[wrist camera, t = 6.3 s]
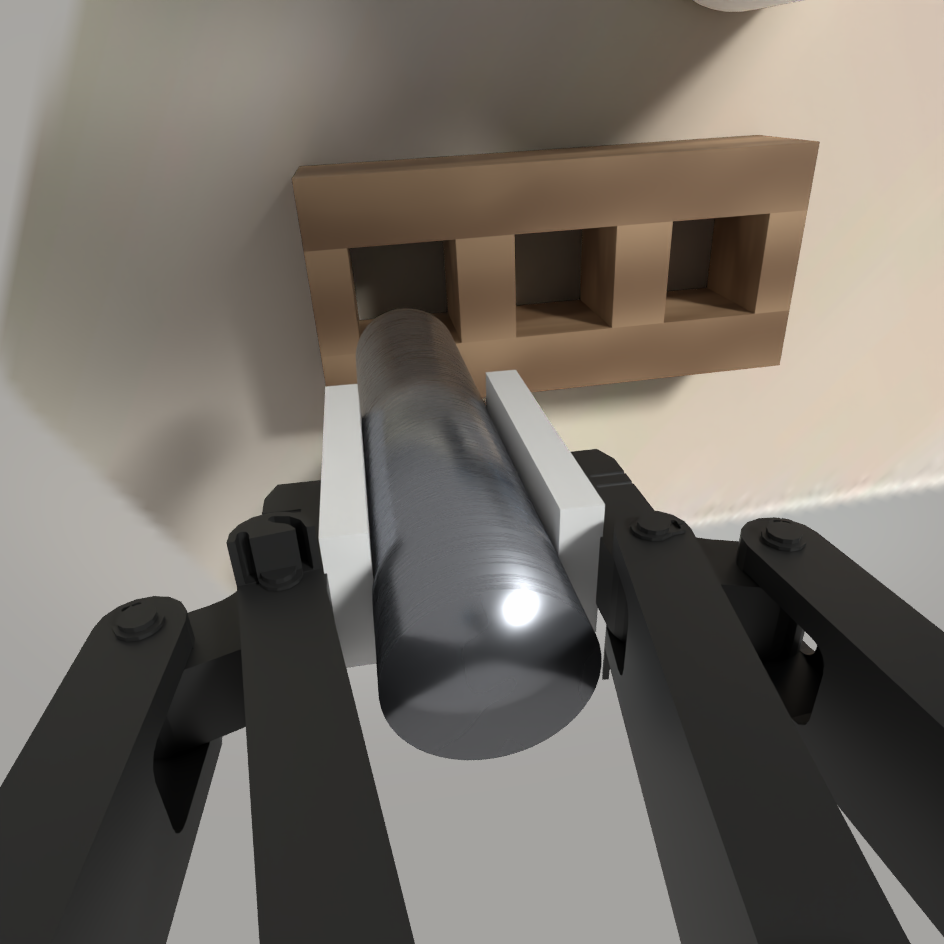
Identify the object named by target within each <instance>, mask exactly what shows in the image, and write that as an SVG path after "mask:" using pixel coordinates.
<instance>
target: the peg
mask: <svg viewBox="0 0 944 944" xmlns="http://www.w3.org/2000/svg"><path fill="white" fill-rule="evenodd" d="M356 372H357V385H358V393H359V402H360V410H361V419H362V433H363V446H364V460H365V473H366V487H367V500H368V513H369V527H370V540H371V554H372V567H373V588H372V605H373V619H374V634H375V648H376V663H377V677H378V692H379V701H380V705H381V709H382V712H383V714H384V717H385V719H386V720H387V722H388V723H389V725H390V727H391V728H392V729H393V730H394V731H395V732H396V733H397V735H398V736H400V737H401V738H402V739H403V740H405V741H406V742H407V743H409V744H410V745H412V746H414V747H415V748H417V749H419V750H422V751H424V752H426V753H429V754H433V755H436V756H439V757H444V758H449V759H458V760H482V759H490V758H497V757H502V756H507V755H510V754H514V753H517V752H520V751H523V750H525V749H528V748H530V747H533V746H535V745H537V744H539V743H541V742H543V741H545V740H546V739H548V738H550V737H551V736H553V735H554V734H556V733H557V732H559V731H560V730H561V729H562V728H564V727H565V726H567V725H568V724H569V723H570V722H571V721H572V720H573V719H574V718H575V717H576V716H577V715H578V714H579V713H580V711H581V710H582V709H583V708H584V706H585V705H586V703H587V702H588V701H589V699H590V698H591V696H592V694H593V692H594V690H595V688H596V685H597V682H598V679H599V676H600V670H601V650H600V644H599V642H598V639H597V637H596V634H595V632H594V629H593V627H592V625H591V623H590V621H589V619H588V617H587V615H586V613H585V611H584V609H583V607H582V605H581V603H580V600H579V598H578V596H577V594H576V592H575V590H574V588H573V586H572V584H571V582H570V580H569V578H568V576H567V573H566V571H565V569H564V567H563V565H562V563H561V561H560V559H559V557H558V555H557V553H556V551H555V549H554V547H553V544H552V542H551V540H550V538H549V536H548V534H547V532H546V530H545V528H544V526H543V524H542V522H541V520H540V517H539V515H538V513H537V511H536V509H535V507H534V505H533V503H532V501H531V499H530V497H529V495H528V493H527V491H526V488H525V486H524V484H523V482H522V480H521V478H520V476H519V474H518V472H517V470H516V468H515V466H514V464H513V461H512V459H511V457H510V455H509V453H508V451H507V449H506V447H505V445H504V443H503V441H502V439H501V437H500V434H499V432H498V430H497V428H496V426H495V424H494V422H493V420H492V418H491V416H490V414H489V412H488V410H487V408H486V405H485V403H484V401H483V399H482V397H481V395H480V393H479V391H478V389H477V387H476V385H475V383H474V381H473V378H472V376H471V374H470V372H469V370H468V368H467V366H466V364H465V362H464V360H463V358H462V356H461V354H460V352H459V349H458V347H457V345H456V343H455V341H454V339H453V337H452V335H451V333H450V332H449V330H448V329H447V327H446V326H445V325H444V324H443V323H442V322H441V321H440V320H439V319H438V318H436V317H435V316H433V315H432V314H430V313H427V312H425V311H422V310H418V309H413V308H401V309H395V310H391V311H388V312H386V313H383V314H382V315H380V316H378V317H377V318H375V319H374V320H373V321H372V322H371V323H370V324H369V325H368V326H367V327H366V328H365V330H364V331H363V333H362V334H361V336H360V339H359V341H358V344H357V348H356Z"/></svg>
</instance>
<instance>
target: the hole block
mask: <svg viewBox="0 0 944 944" xmlns="http://www.w3.org/2000/svg"><path fill="white" fill-rule="evenodd" d="M819 143H820V142H818V141H808V140H799V139H790V138H781V137H772V136H763V135H752V136H737V137H723V138H708V139H693V140H679V141H664V142H650V143H635V144H620V145H606V146H591V147H577V148H562V149H547V150H533V151H518V152H504V153H489V154H474V155H460V156H445V157H431V158H416V159H401V160H387V161H372V162H358V163H343V164H328V165H314V166H299V168H298V169H297V171H296V173H295V174H294V176H293V178H292V183H293V190H294V196H295V202H296V208H297V214H298V220H299V226H300V232H301V238H302V244H303V250H304V256H305V262H306V268H307V275H308V281H309V287H310V293H311V299H312V305H313V311H314V317H315V323H316V329H317V335H318V341H319V347H320V353H321V359H322V366H323V372H324V378H325V384H326V387H327V386H338V385H349V384H357V372H356V348H357V344H358V341H359V339H360V336H361V334H362V333H363V331H364V330H365V328H366V327H367V326H368V325H369V324H370V323H371V322H372V321H373V320H374V319H369V320H359V315H358V307H357V299H356V292H355V284H354V277H353V269H352V262H351V254H350V248H357V247H369V246H381V245H393V244H405V243H417V242H430V241H442V240H443V251H444V266H445V281H446V295H447V310H448V312H443V313H433V314H432V315H433V316H435V317H436V318H438V319H439V320H440V321H441V322H442V323H443V324H444V325H445V326H446V327H447V329H448V330H449V332H450V333H451V335H452V337H453V339H454V341H455V343H456V345H457V347H458V349H459V352H460V354H461V356H462V358H463V360H464V362H465V364H466V366H467V368H468V370H469V372H470V374H471V376H472V378H473V381H474V383H475V385H476V387H477V389H478V391H479V393H480V395H481V397H482V398H484V397H486V372H495V371H506V370H516V371H517V372H518V374H519V375H520V377H521V378H522V380H523V381H524V383H525V384H526V386H527V387H528V389H529V390H530V392H538V391H547V390H557V389H566V388H575V387H584V386H593V385H602V384H611V383H621V382H630V381H639V380H648V379H657V378H666V377H675V376H684V375H694V374H703V373H712V372H721V371H730V370H739V369H748V368H757V367H767V366H776V365H780V359H781V353H782V348H783V342H784V337H785V331H786V326H787V320H788V315H789V309H790V304H791V298H792V292H793V287H794V281H795V276H796V270H797V265H798V259H799V254H800V248H801V243H802V237H803V231H804V226H805V220H806V215H807V209H808V204H809V198H810V193H811V187H812V182H813V176H814V170H815V165H816V159H817V154H818V148H819ZM708 218H715V222H714V231H713V239H712V247H711V256H710V264H709V273H708V281H707V288H697V289H686V290H676V291H667V281H668V270H669V259H670V248H671V237H672V226H673V221H684V220H696V219H708ZM575 229H582V249H581V284H580V300H570V301H560V302H549V303H538V304H528V305H517V306H516V291H515V235H514V234H526V233H539V232H551V231H563V230H575Z"/></svg>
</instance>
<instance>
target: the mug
mask: <svg viewBox="0 0 944 944" xmlns="http://www.w3.org/2000/svg"><path fill="white" fill-rule="evenodd" d="M693 1H695V2H696V3H698V4H700V5H702V6H705V7H708V8H710V9H714V10H719V11H725V12H743V11H750V10H756V9H762V8H767V7H772V6H777V5H782V4H787V3H792V2H798V1H803V0H693Z"/></svg>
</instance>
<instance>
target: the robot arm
mask: <svg viewBox="0 0 944 944" xmlns="http://www.w3.org/2000/svg"><path fill="white" fill-rule="evenodd" d="M486 408H487V410H488V412H489V414H490V416H491V418H492V420H493V422H494V424H495V426H496V428H497V430H498V432H499V434H500V437H501V439H502V441H503V443H504V445H505V447H506V449H507V451H508V453H509V455H510V457H511V459H512V461H513V464H514V466H515V468H516V470H517V472H518V474H519V476H520V478H521V480H522V482H523V484H524V486H525V488H526V491H527V493H528V495H529V497H530V499H531V501H532V503H533V505H534V507H535V509H536V511H537V513H538V515H539V517H540V520H541V522H542V524H543V526H544V528H545V530H546V532H547V534H548V536H549V538H550V540H551V542H552V544H553V547H554V549H555V551H556V553H557V555H558V557H559V559H560V561H561V563H562V565H563V567H564V569H565V571H566V573H567V576H568V578H569V580H570V582H571V584H572V586H573V588H574V590H575V592H576V594H577V596H578V598H579V600H580V603H581V605H582V607H583V609H584V611H585V613H586V615H587V617H588V619H589V621H590V623H591V625H592V627H593V629H594V632H596V622H597V609H598V608H599V610H600V613H601V614H602V616H603V618H604V620H605V622H606V636H605V648H604V660H603V675H602V676H603V677H602V678H603V679H609V670H610V669H611V673H612V676H613V680H614V684H615V688H616V692H617V696H618V700H619V704H620V708H621V711H622V716H623V719H624V723H625V727H626V731H627V735H628V738H629V743H630V747H631V751H632V754H633V758H634V762H635V766H636V770H637V773H638V778H639V782H640V785H641V789H642V793H643V797H644V801H645V805H646V809H647V813H648V817H649V820H650V824H651V828H652V832H653V836H654V840H655V843H656V848H657V852H658V856H659V859H660V863H661V867H662V871H663V875H664V879H665V882H666V886H667V890H668V894H669V898H670V902H671V906H672V910H673V914H674V918H675V922H676V925H677V929H678V933H679V937H680V941H681V944H911V943H910V942H909V940H908V938H907V936H906V934H905V933H904V931H903V929H902V927H901V925H900V923H899V921H898V919H897V918H896V916H895V914H894V912H893V910H892V908H891V906H890V904H889V902H888V901H887V898H886V897H885V895H884V893H883V891H882V889H881V887H880V885H879V884H878V882H877V880H876V878H875V876H874V874H873V872H872V870H871V869H870V867H869V865H868V863H867V861H866V859H865V857H864V855H863V853H862V851H861V849H860V847H859V845H858V844H857V842H856V840H855V838H854V836H853V834H852V832H851V830H850V828H849V827H848V825H847V823H846V821H845V819H844V817H843V816H842V813H841V811H840V810H839V808H838V806H839V807H840V809H841V810H842V811H843V812H844V814H845V815H846V816H847V817H848V819H849V820H850V821H851V822H852V824H853V825H854V826H855V827H856V829H857V830H858V831H859V832H860V833H861V835H862V836H863V837H864V839H865V840H866V841H867V842H868V844H869V845H870V846H871V847H872V848H873V850H874V851H875V852H876V853H877V854H878V856H879V857H880V858H881V860H882V861H883V862H884V863H885V865H886V866H887V867H888V868H889V869H890V871H891V872H892V873H893V875H894V876H895V877H896V878H897V879H898V881H899V882H900V883H901V884H902V886H903V887H904V888H905V889H906V891H907V892H908V893H909V894H910V895H911V897H912V898H913V899H914V901H915V902H916V903H917V904H918V906H919V907H920V908H921V909H922V910H923V912H924V913H925V914H926V915H927V917H928V918H929V919H930V920H931V922H932V923H933V924H934V925H935V927H936V928H937V929H938V930H939V931H940V933H941V934H942V935H943V937H944V632H943V631H942V630H941V629H939V628H938V627H937V626H935V625H934V624H933V623H931V622H930V621H929V620H928V619H926V618H925V617H924V616H923V615H921V614H920V613H919V612H917V611H916V610H915V609H913V607H911V606H910V605H909V604H907V603H906V602H905V601H904V600H902V599H901V598H900V597H899V596H897V595H896V594H895V593H893V592H892V591H891V590H890V589H888V588H887V587H886V586H885V585H883V584H882V583H881V582H879V581H878V580H877V579H876V578H874V577H873V576H872V575H870V574H869V573H868V572H867V571H865V570H864V569H863V568H862V567H860V566H859V565H858V564H857V563H855V562H854V561H853V560H851V559H850V558H849V557H848V556H846V555H845V554H844V553H843V552H841V551H840V550H839V549H838V548H836V547H835V546H834V545H832V544H831V543H830V542H829V541H827V540H826V539H825V538H823V537H822V536H821V535H819V534H818V533H817V532H815V531H814V530H812V529H810V528H809V527H807V526H805V525H803V524H800V523H797V522H793V521H792V520H789V519H783V518H782V519H780V518H759V519H756V520H753V521H750V522H747V523H746V524H745V525H744V526H743V528H742V529H741V534H740V539H739V542H738V541H724V540H711V539H703V538H696V537H695V535H694V533H693V531H692V529H691V528H690V527H689V526H688V525H687V524H686V523H685V522H684V521H683V520H681V519H679V518H677V517H675V516H674V515H671V514H667V513H664V512H660V511H654V509H653V508H652V507H651V506H650V504H649V503H648V502H647V500H646V499H645V498H644V496H643V495H642V494H641V493H640V491H639V490H638V489H637V487H636V486H635V485H634V484H632V481H631V480H630V478H629V477H628V476H627V475H626V473H625V474H624V471H623V469H622V468H621V467H620V465H619V464H618V463H617V462H616V460H615V459H614V458H612V457H610V456H608V455H607V454H605V453H603V452H601V451H599V450H598V449H592V450H583V451H574V452H570V451H569V449H568V448H567V446H566V445H565V443H564V442H563V440H562V439H561V437H560V436H559V434H558V433H557V431H556V430H555V428H554V427H553V425H552V424H551V422H550V421H549V419H548V418H547V416H546V415H545V413H544V411H543V410H542V408H541V407H540V405H539V404H538V402H537V401H536V399H535V398H534V396H533V395H532V393H531V392H530V390H529V389H528V387H527V386H526V384H525V383H524V381H523V380H522V378H521V377H520V375H519V374H518V372H517V371H516V370H506V371H495V372H486ZM227 547H228V551H229V556H230V560H231V564H232V568H233V572H234V576H235V580H236V584H237V591H236V592H235V593H234V594H232V595H231V596H229V597H227V598H226V599H224V600H222V601H219V602H217V603H215V604H212V605H210V606H207V607H204V608H201V609H198V610H195V611H192V612H189V613H187V610H186V608H185V607H184V605H183V604H182V603H181V602H180V601H178V600H175V599H173V598H171V597H159V596H153V597H147V598H142V599H136V600H134V601H131V602H129V603H126V604H124V605H121V606H119V607H117V608H116V609H114V610H113V611H111V612H110V613H108V614H107V615H105V616H104V617H103V618H102V619H101V620H100V621H99V622H98V623H97V625H96V626H95V627H94V628H93V630H92V631H91V633H90V635H89V637H88V638H87V640H86V642H85V643H84V645H83V647H82V648H81V650H80V652H79V654H78V655H77V657H76V659H75V660H74V662H73V664H72V665H71V667H70V669H69V671H68V672H67V674H66V676H65V677H64V679H63V681H62V683H61V685H60V686H59V688H58V689H57V691H56V693H55V695H54V696H53V698H52V700H51V701H50V703H49V705H48V706H47V708H46V710H45V712H44V713H43V715H42V717H41V718H40V721H39V722H38V724H37V725H36V727H35V729H34V731H33V732H32V734H31V736H30V737H29V739H28V741H27V742H26V744H25V746H24V748H23V749H22V751H21V753H20V754H19V756H18V758H17V759H16V761H15V763H14V765H13V766H12V768H11V770H10V771H9V773H8V775H7V777H6V778H5V780H4V782H3V783H2V785H1V787H0V944H166V942H167V937H168V934H169V931H170V927H171V924H172V920H173V917H174V913H175V909H176V906H177V902H178V899H179V895H180V891H181V888H182V884H183V881H184V877H185V874H186V870H187V867H188V863H189V860H190V856H191V852H192V848H193V845H194V841H195V838H196V834H197V831H198V827H199V824H200V820H201V817H202V813H203V810H204V806H205V802H206V799H207V795H208V792H209V788H210V785H211V781H212V777H213V774H214V770H215V767H216V763H217V760H218V756H219V752H220V749H221V745H222V736H224V735H227V734H229V733H231V732H234V731H237V730H239V729H241V728H244V727H246V736H247V749H248V750H247V752H248V767H249V780H250V781H249V783H250V798H251V815H252V829H253V845H254V861H255V877H256V891H257V892H256V893H257V909H258V925H259V939H260V944H415V943H414V938H413V934H412V931H411V926H410V922H409V918H408V914H407V910H406V906H405V902H404V898H403V894H402V890H401V886H400V882H399V878H398V874H397V870H396V866H395V862H394V858H393V854H392V850H391V846H390V842H389V838H388V834H387V830H386V826H385V822H384V818H383V814H382V810H381V806H380V802H379V798H378V794H377V790H376V786H375V782H374V778H373V774H372V770H371V766H370V762H369V758H368V754H367V750H366V746H365V741H364V738H363V734H362V730H361V725H360V721H359V718H358V713H357V709H356V705H355V701H354V697H353V693H352V689H351V685H350V681H349V677H348V673H347V669H346V668H347V667H354V666H361V665H368V664H375V663H376V648H375V634H374V619H373V605H372V588H373V567H372V554H371V540H370V527H369V513H368V500H367V487H366V473H365V460H364V446H363V433H362V419H361V410H360V402H359V393H358V385H357V384H349V385H338V386H327V387H325V405H324V427H323V450H322V472H321V480H318V481H309V482H300V483H290V484H281V485H277V486H276V487H275V488H274V489H273V490H272V491H271V493H270V494H269V495H268V496H267V497H266V498H265V500H264V505H263V511H262V515H260V516H256V517H253V518H251V519H249V520H247V521H245V522H243V523H241V524H239V525H238V526H237V527H236V528H235V529H234V530H233V531H232V532H231V533H230V534H229V537H228V540H227ZM804 632H806V633H807V634H808V635H809V636H810V637H811V638H812V639H813V640H814V641H815V642H816V644H817V648H816V650H815V651H814V650H812V649H811V648H810V647H809V646H808V645H807V644H806V643H805V642H804V641H803V636H804ZM837 805H838V806H837Z"/></svg>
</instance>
